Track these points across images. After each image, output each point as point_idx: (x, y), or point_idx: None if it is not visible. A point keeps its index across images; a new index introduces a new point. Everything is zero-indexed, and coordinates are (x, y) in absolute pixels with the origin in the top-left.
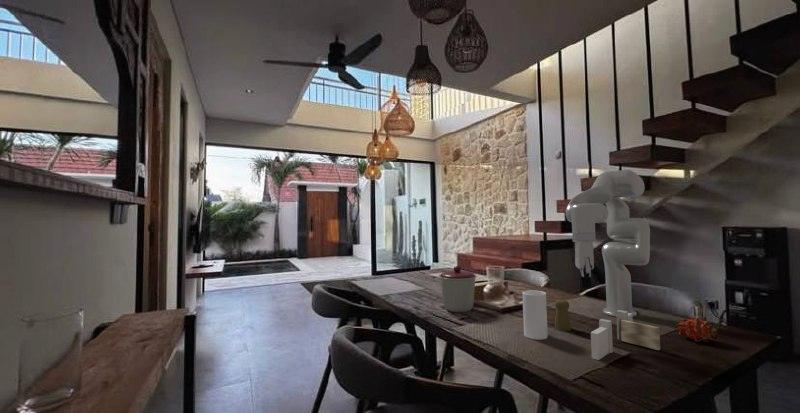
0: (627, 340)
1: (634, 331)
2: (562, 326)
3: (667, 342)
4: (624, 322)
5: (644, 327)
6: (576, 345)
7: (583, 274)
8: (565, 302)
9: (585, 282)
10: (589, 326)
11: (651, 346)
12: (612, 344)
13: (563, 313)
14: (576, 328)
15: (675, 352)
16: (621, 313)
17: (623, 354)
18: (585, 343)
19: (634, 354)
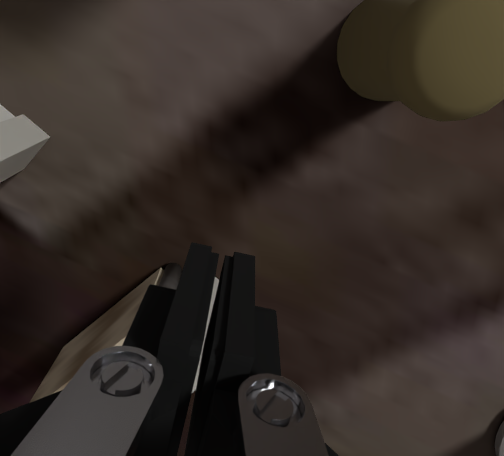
0: (140, 286)
1: (102, 336)
2: (350, 28)
3: None
4: (124, 334)
5: (59, 383)
6: (81, 12)
7: (66, 406)
8: (415, 74)
9: (138, 321)
10: (401, 220)
11: (77, 339)
12: (5, 179)
13: (381, 44)
14: (375, 134)
15: None
16: None
17: (2, 200)
18: (123, 81)
19: (14, 245)
